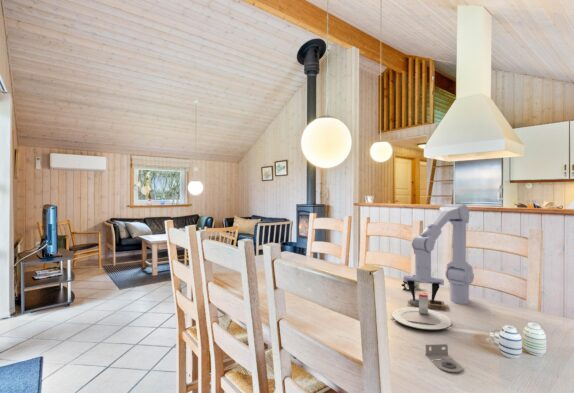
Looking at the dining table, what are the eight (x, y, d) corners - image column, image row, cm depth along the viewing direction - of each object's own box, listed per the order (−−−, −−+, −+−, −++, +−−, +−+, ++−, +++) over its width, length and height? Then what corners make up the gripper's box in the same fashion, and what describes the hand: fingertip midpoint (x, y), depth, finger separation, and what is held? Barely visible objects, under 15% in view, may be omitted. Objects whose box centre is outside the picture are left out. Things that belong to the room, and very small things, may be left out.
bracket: (443, 375, 83) (443, 362, 83) (425, 356, 93) (425, 344, 93) (467, 374, 83) (467, 361, 83) (447, 355, 93) (447, 344, 93)
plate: (456, 338, 104) (456, 332, 104) (391, 329, 112) (390, 324, 112) (447, 315, 124) (447, 310, 124) (392, 309, 131) (392, 304, 131)
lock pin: (418, 310, 125) (418, 292, 125) (427, 311, 123) (427, 293, 123) (419, 313, 122) (418, 294, 122) (427, 314, 120) (427, 295, 120)
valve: (410, 286, 163) (401, 291, 154) (410, 273, 163) (401, 278, 154) (423, 288, 159) (415, 294, 150) (423, 275, 159) (414, 280, 150)
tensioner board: (407, 302, 138) (407, 295, 138) (448, 307, 132) (448, 300, 132) (407, 308, 131) (407, 301, 131) (450, 313, 125) (450, 306, 125)
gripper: (403, 267, 122) (403, 302, 122) (444, 270, 116) (444, 306, 116) (403, 263, 128) (403, 296, 128) (443, 266, 122) (443, 301, 123)
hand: (423, 301), depth 122 cm, fingers open, 6 cm apart
